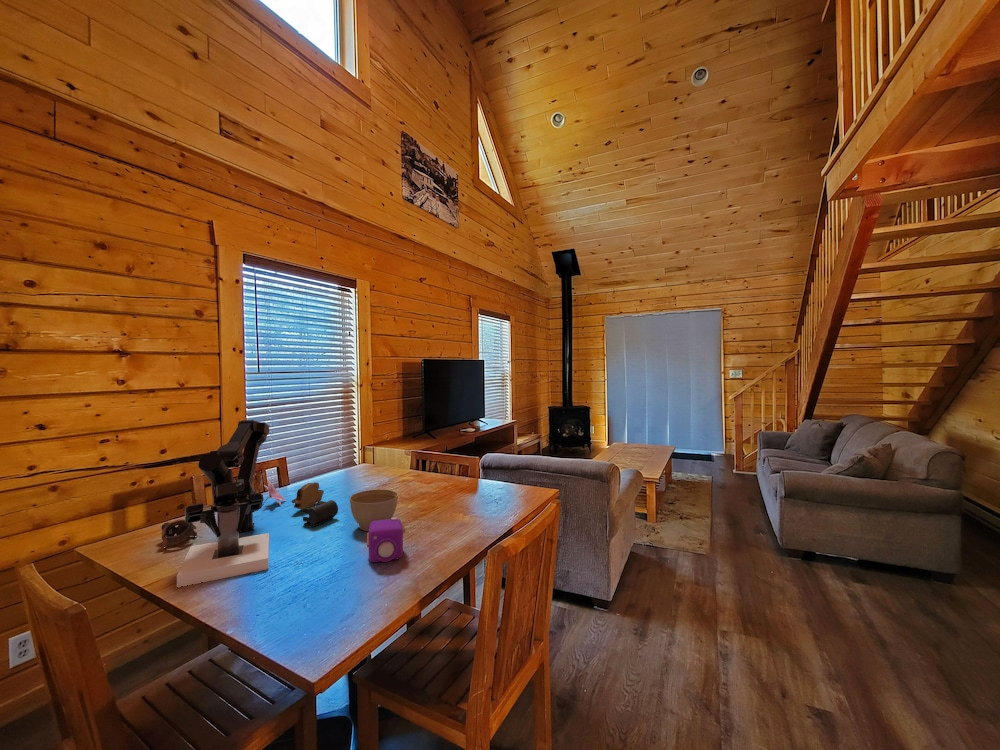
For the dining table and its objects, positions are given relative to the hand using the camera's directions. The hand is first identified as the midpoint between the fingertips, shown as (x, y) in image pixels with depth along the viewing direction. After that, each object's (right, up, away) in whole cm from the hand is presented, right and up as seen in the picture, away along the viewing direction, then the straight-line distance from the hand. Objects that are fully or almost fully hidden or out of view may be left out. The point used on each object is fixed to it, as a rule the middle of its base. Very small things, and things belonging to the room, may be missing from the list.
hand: (228, 534), depth 115 cm
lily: (-16, -8, +52) cm, 55 cm away
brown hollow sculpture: (-26, -9, +15) cm, 31 cm away
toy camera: (+43, -9, +4) cm, 44 cm away
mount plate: (-1, -8, +1) cm, 9 cm away
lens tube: (-1, -7, +1) cm, 7 cm away
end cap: (+12, -8, +32) cm, 35 cm away
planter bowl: (+33, -8, +27) cm, 43 cm away
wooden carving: (0, -8, +47) cm, 48 cm away
